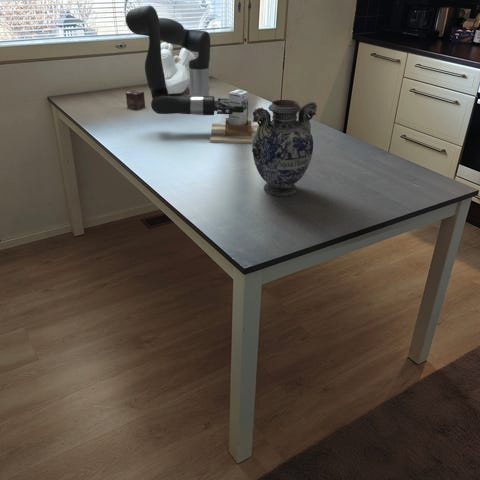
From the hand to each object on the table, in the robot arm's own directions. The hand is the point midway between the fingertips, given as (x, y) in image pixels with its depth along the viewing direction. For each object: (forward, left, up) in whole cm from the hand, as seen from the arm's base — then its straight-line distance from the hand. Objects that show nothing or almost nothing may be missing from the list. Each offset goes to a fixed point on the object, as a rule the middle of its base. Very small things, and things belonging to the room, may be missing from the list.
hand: (243, 106), depth 210 cm
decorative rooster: (-63, -32, -11) cm, 72 cm away
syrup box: (0, -2, -9) cm, 9 cm away
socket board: (0, -2, -11) cm, 11 cm away
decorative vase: (+54, +11, -11) cm, 56 cm away
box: (-35, -49, -12) cm, 61 cm away
